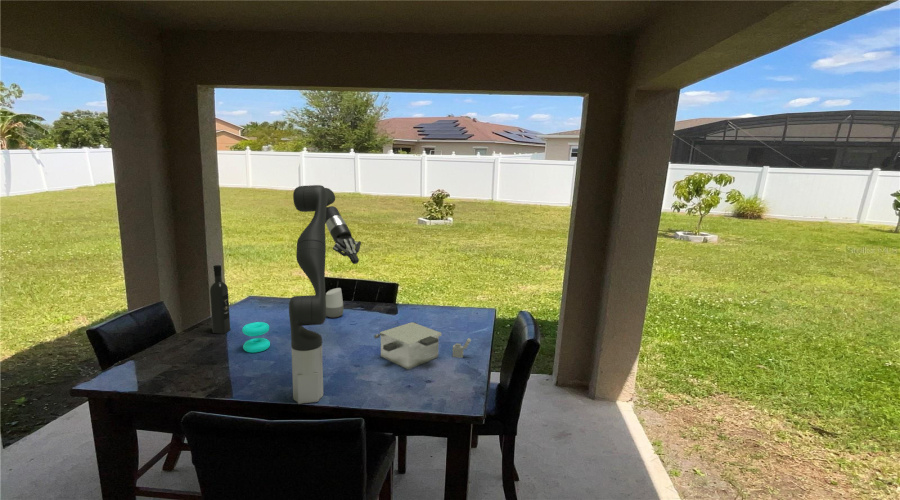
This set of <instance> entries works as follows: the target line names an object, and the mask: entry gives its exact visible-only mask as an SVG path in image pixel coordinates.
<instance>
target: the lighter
mask: <svg viewBox="0 0 900 500" xmlns="http://www.w3.org/2000/svg"><path fill="white" fill-rule="evenodd" d="M471 341H472V339H471V338H470V337H469V338H467V339H466V341H465V344H463V345H462V343H455V344H453V346H452V358H458V359H459V358H461V359H464V349H465V350H467V348H468V346H469V344H470V343H471Z"/></svg>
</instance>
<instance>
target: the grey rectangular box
mask: <svg viewBox="0 0 900 500" xmlns="http://www.w3.org/2000/svg"><path fill="white" fill-rule="evenodd" d="M414 323H416V324H418V323H417V322H414ZM373 337H374V339H379V338H380V358H383V359H384V360H387V361H389V362H392V363H393V364H395V365H397V366H399V367H402V368H404V369H405V370H406V369H407V370H411V369H413V368H415V367H417V366H420V365H423V364H426V363H428V362H429V361H432V360H435V359H437V358H439V345H440V344H439V341H440V340H439V337H440V336H439V337H437V339H438V342H436V343H434V344H431V345H428V346H425V345H423V344H417V345H415V346H412V347H407V346H405V345H402V344H400V343H397V342H395V341H393V340H390V339H388V338H385V337H383V336H381V335H380V333H377V334H375V335H374V336H373Z"/></svg>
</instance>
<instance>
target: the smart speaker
mask: <svg viewBox="0 0 900 500" xmlns="http://www.w3.org/2000/svg"><path fill="white" fill-rule="evenodd" d="M325 296H326V317H327V318H330V319H337V318H340V317H342V316H343V313H344V301H343V299H344V298H343V293H342V288H341V287H336V288H332V289H329V290H328V291H327V292H325Z"/></svg>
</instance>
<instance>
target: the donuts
mask: <svg viewBox="0 0 900 500" xmlns="http://www.w3.org/2000/svg"><path fill="white" fill-rule="evenodd" d="M269 330H270V325H269V324H268V323H267V322H263V321H256V322H250V323H247V324H245V325H244V326H243V327H242V329H241V331H242V333H243V334H244V335H246V336H248V337H254V338H251V339H248V340H246V341H245V342H244V343H243V346H242V349H243V350H244V351H245V352H247V353H253V354H255V353H261V352H263V351H266V350H268V349H269V348H270V346H271V342H270V340H269V339H267V338H264V337H260V336H262V335H264V334H267V333H268V332H269Z"/></svg>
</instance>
